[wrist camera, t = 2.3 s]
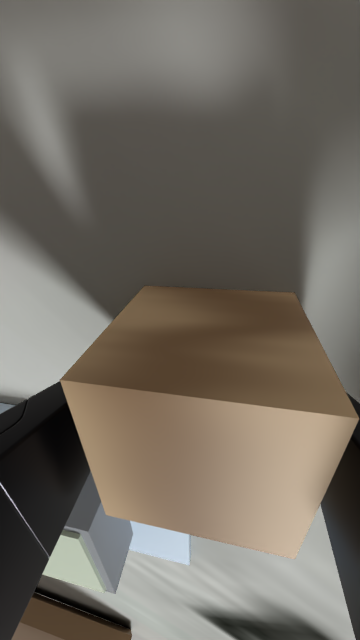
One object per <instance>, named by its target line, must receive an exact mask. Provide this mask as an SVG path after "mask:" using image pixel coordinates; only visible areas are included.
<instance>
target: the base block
mask: <svg viewBox="0 0 360 640" xmlns="http://www.w3.org/2000/svg"><path fill="white" fill-rule="evenodd" d="M132 536H133V531H132V527H131V523H130V521H129V520H125V519H121V518H117V517H112V516H108V515H106V514H105V511H104V508H103V505H102V502H101V499H100V496H99V493H98V490H97V487H96V484H95V481H94V479H93V476H92V473H91V472H90V474H89V476H88V478H87V480H86V482H85V484H84V487H83V489H82V491H81V493H80V495H79V497H78V499H77V501H76V503H75V506H74V508H73V510H72V512H71V514H70V516H69V518H68V520H67V523H66V525H65V527H64V529H63V531H62V533H61V535H60V537H59V539H58V542H57V544H56V546H55V548H54V550H53V552H52V554H51V556H50V557H49V561H48V563H47V565H46V567H45V570H44V572H43V574H42V575H46V576H49V577H52V578H55V579H59V580H62V581H65V582H69V583H72V584H75V585H79V586H82V587H85V588H89V589H92V590H95V591H99V592H102V593H105V591H108V592H111V593H114V594H116V590H117V587H118V584H119V580H120V577H121V573H122V570H123V567H124V563H125V560H126V557H127V553H128V550H129V547H130V543H131V540H132Z"/></svg>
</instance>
